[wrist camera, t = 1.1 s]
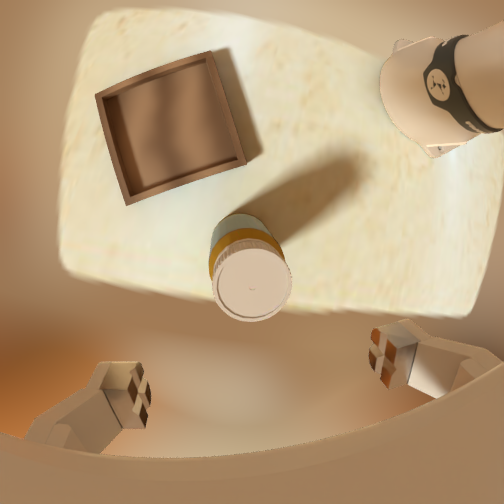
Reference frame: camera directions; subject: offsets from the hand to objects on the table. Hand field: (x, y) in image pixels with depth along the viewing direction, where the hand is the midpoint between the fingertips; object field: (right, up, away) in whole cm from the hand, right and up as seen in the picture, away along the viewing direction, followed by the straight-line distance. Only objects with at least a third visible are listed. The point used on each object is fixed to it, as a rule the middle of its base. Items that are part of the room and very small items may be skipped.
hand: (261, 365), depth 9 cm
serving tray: (-10, +19, +23) cm, 31 cm away
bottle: (-2, +5, +28) cm, 28 cm away
